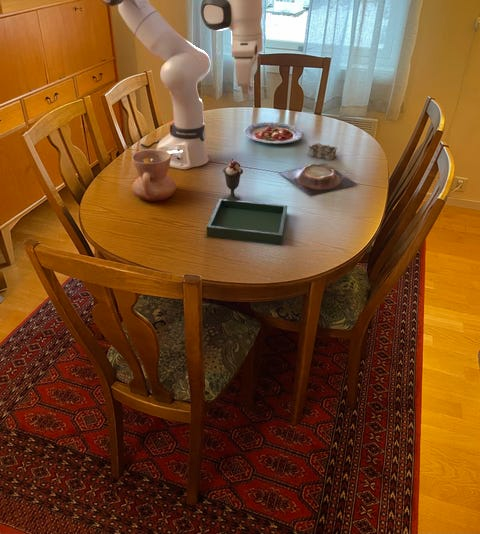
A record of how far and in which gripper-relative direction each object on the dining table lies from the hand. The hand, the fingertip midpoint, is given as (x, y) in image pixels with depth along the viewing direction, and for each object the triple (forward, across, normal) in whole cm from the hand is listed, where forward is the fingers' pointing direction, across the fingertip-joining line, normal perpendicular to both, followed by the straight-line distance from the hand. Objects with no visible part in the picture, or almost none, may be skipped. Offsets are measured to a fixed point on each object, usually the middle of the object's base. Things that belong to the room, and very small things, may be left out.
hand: (248, 94), depth 139 cm
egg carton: (+35, -38, +25) cm, 57 cm away
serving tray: (+33, +23, +2) cm, 40 cm away
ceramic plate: (+34, -54, +3) cm, 64 cm away
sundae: (+33, +6, -5) cm, 34 cm away
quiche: (+35, -15, +23) cm, 44 cm away
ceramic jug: (+31, +10, -31) cm, 45 cm away
